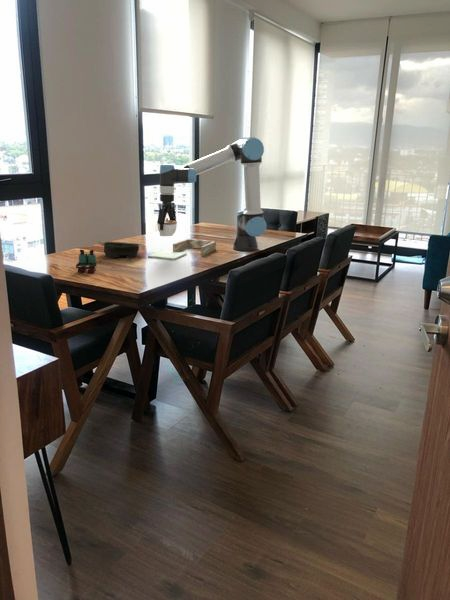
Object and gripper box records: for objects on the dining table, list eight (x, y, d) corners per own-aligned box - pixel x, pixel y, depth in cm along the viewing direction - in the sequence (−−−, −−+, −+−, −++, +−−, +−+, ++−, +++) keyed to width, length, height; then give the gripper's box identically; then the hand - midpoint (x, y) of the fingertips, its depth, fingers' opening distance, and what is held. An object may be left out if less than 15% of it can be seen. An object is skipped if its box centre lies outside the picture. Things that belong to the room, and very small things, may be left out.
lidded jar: (173, 237, 267) (173, 220, 264) (154, 236, 269) (154, 218, 266) (179, 234, 277) (179, 217, 274) (161, 233, 279) (160, 216, 276)
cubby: (215, 249, 297) (215, 241, 296) (203, 255, 279) (203, 247, 278) (186, 246, 303) (186, 238, 302) (172, 252, 286) (172, 244, 284)
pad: (186, 254, 281) (186, 253, 280) (174, 260, 266) (174, 258, 266) (161, 252, 286) (161, 250, 286) (147, 257, 271) (147, 255, 271)
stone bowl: (100, 261, 259) (99, 243, 257) (99, 254, 283) (97, 238, 281) (147, 258, 266) (146, 241, 263) (142, 252, 289) (141, 237, 287)
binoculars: (73, 254, 229) (78, 248, 238) (75, 275, 233) (80, 268, 242) (92, 254, 229) (97, 248, 238) (94, 276, 233) (98, 269, 242)
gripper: (170, 191, 278) (170, 230, 284) (150, 195, 257) (151, 237, 263) (182, 192, 275) (182, 232, 282) (163, 195, 254) (163, 238, 261)
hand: (167, 234), depth 272 cm, fingers closed on lidded jar, 11 cm apart
